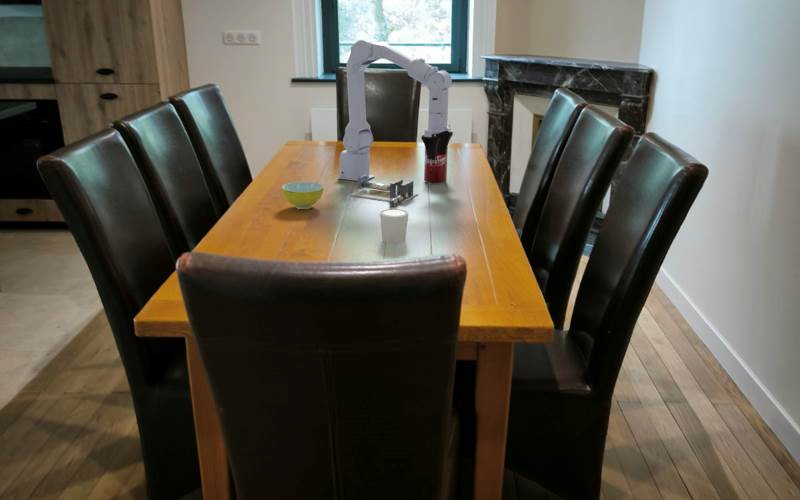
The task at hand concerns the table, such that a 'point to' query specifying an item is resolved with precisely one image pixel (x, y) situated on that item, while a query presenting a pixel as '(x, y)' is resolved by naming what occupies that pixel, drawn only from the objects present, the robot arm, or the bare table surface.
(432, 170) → the soda can
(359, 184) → the square head bolt
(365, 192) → the mat
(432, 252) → the table surface
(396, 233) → the white cup
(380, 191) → the tan flat block
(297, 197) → the bowl
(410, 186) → the end link
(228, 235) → the table surface
